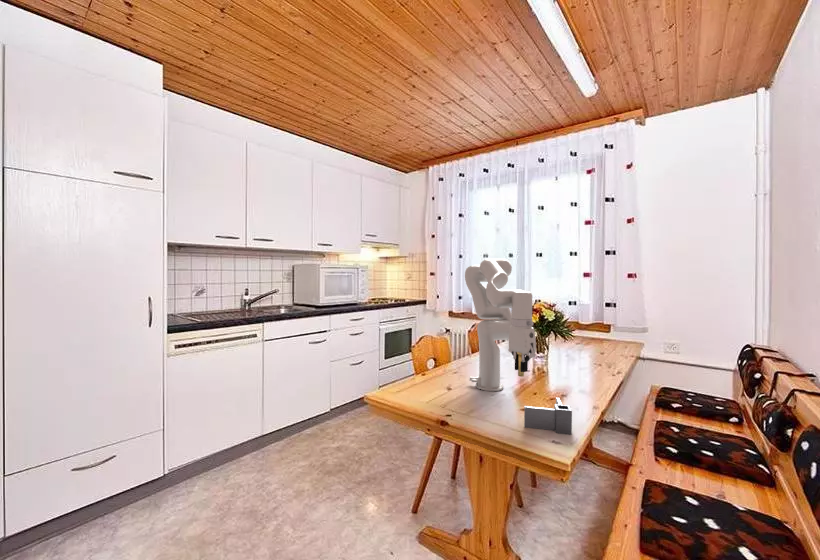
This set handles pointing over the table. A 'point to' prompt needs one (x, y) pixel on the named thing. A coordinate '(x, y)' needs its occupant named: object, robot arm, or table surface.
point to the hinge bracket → (549, 418)
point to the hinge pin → (520, 364)
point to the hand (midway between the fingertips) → (521, 370)
